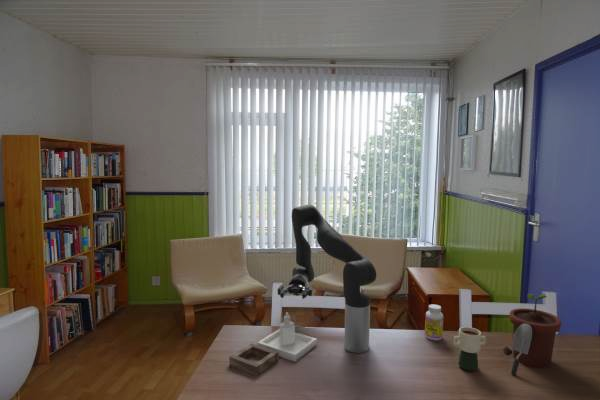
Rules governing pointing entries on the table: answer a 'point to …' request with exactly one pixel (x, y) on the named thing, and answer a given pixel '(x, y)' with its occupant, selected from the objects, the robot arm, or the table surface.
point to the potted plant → (532, 336)
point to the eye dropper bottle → (287, 332)
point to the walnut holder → (249, 366)
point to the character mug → (469, 347)
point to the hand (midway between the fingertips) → (292, 296)
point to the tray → (291, 351)
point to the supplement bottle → (434, 323)
